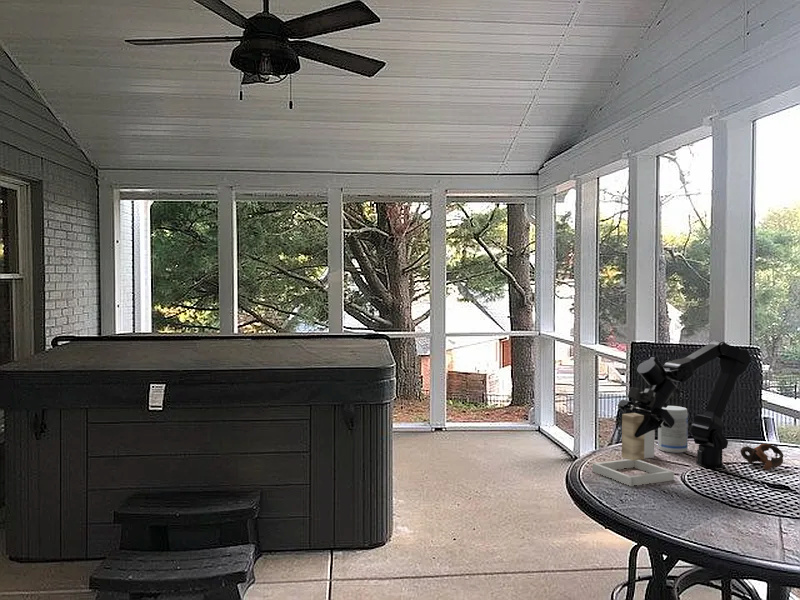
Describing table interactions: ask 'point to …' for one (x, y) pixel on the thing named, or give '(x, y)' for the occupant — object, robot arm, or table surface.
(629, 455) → the tan square block
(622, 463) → the tray
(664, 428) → the supplement tub
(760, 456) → the brown looped piece
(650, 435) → the jar
